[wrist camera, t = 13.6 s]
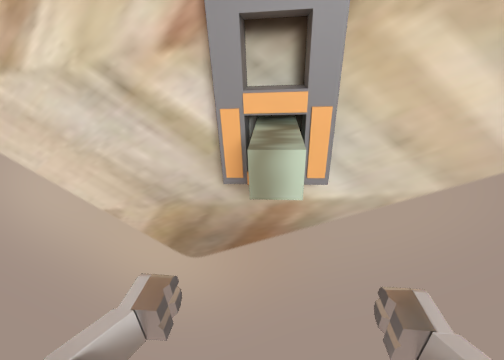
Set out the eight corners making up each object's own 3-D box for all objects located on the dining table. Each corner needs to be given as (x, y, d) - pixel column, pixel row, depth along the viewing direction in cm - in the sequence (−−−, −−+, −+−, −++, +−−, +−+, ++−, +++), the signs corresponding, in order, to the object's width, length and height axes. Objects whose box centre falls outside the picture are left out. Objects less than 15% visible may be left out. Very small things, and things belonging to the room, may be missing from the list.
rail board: (355, -150, 19) (375, -203, 15) (322, 170, 31) (328, 185, 28) (202, -130, 20) (184, -175, 16) (229, 170, 33) (223, 184, 29)
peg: (295, 115, 29) (306, 149, 18) (293, 150, 31) (302, 200, 20) (257, 116, 29) (247, 149, 18) (258, 151, 31) (249, 199, 20)
